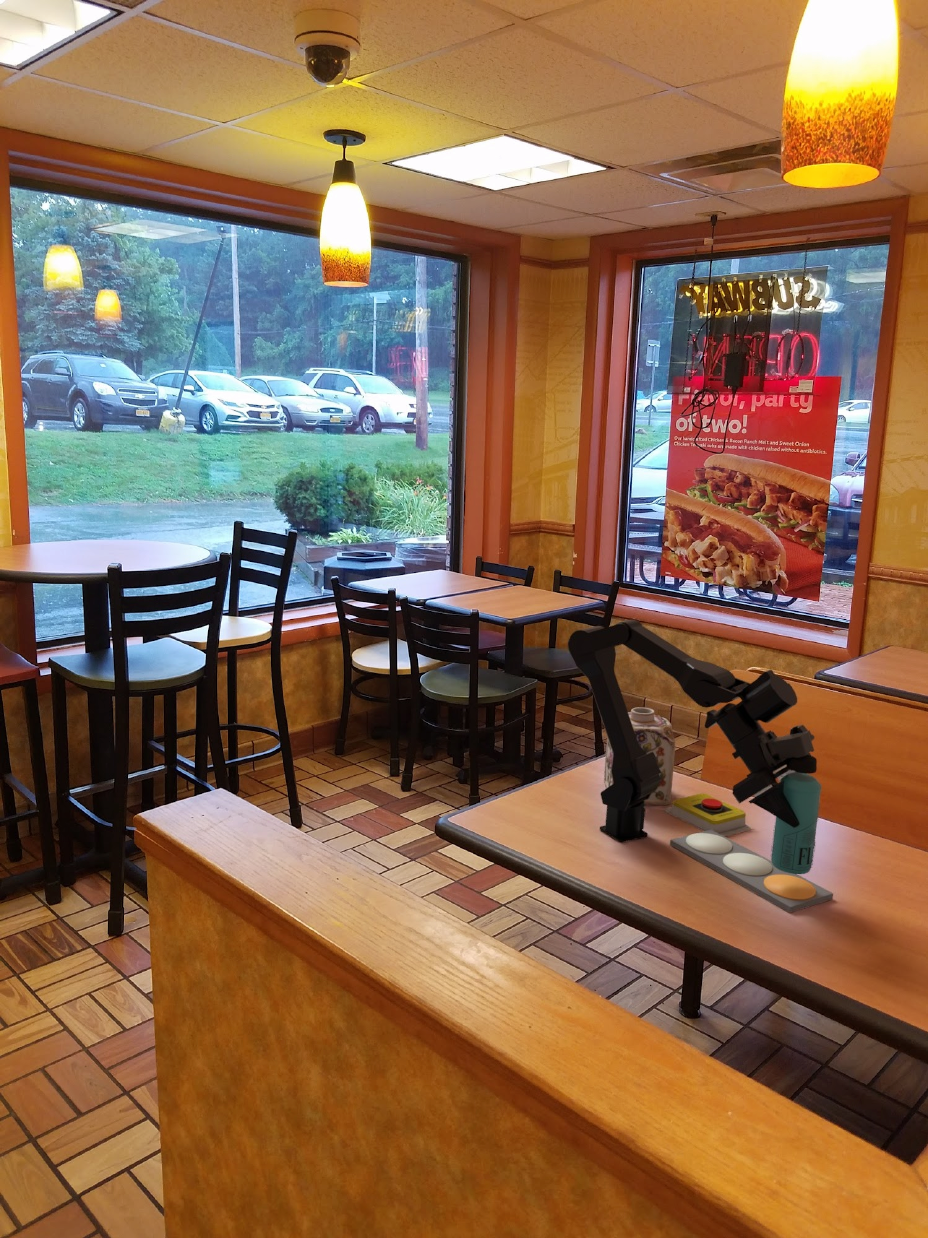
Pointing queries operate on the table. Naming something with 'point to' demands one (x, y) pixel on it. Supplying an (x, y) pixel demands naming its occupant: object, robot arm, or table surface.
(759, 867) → the panel
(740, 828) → the emergency button
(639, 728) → the decorative jar
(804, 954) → the table surface
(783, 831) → the beverage bottle
